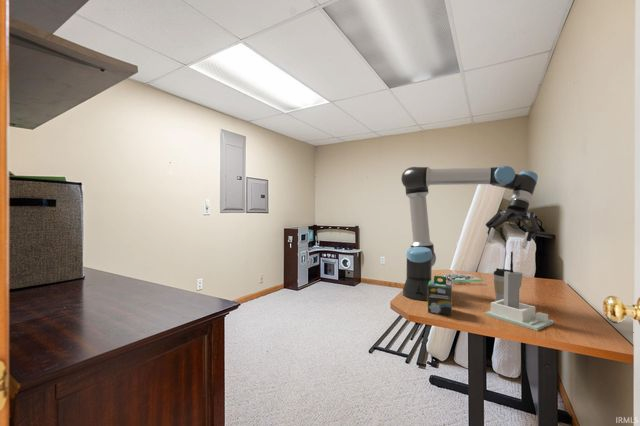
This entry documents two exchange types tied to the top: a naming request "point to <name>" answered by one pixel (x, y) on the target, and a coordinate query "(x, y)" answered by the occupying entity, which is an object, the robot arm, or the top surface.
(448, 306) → the chalk box
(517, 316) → the architectural building model
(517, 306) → the vintage mobile phone
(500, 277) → the coffee cup
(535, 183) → the robot arm
